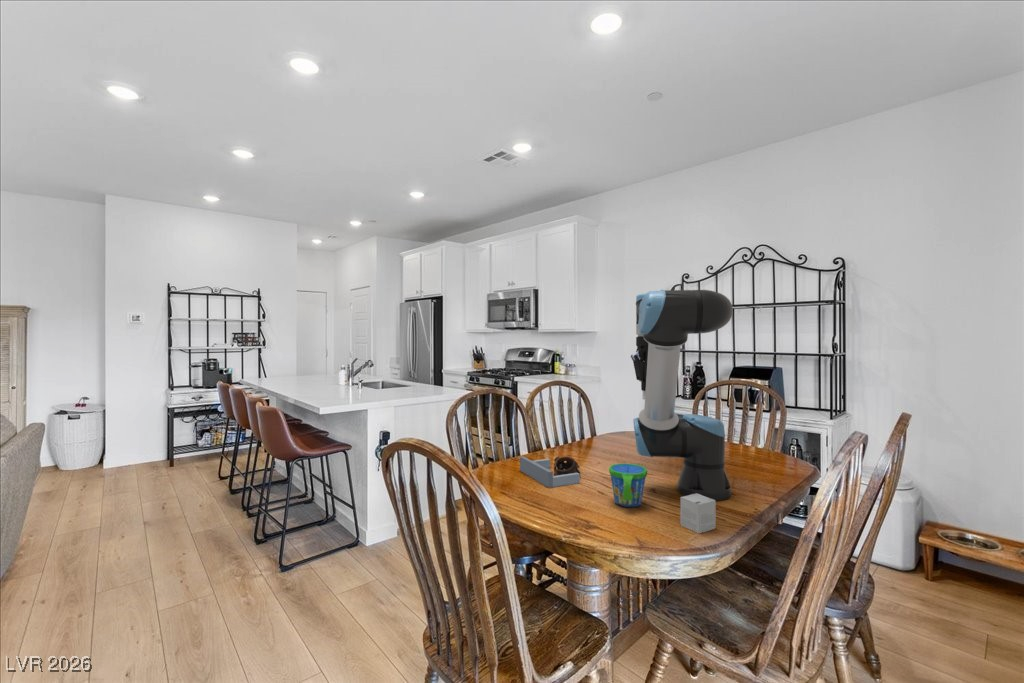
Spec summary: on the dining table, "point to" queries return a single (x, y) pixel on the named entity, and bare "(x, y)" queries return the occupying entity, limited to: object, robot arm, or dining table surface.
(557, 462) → the pottery mug
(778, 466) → the dining table surface
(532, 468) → the seat channel
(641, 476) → the snack cup
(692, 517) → the skincare box
